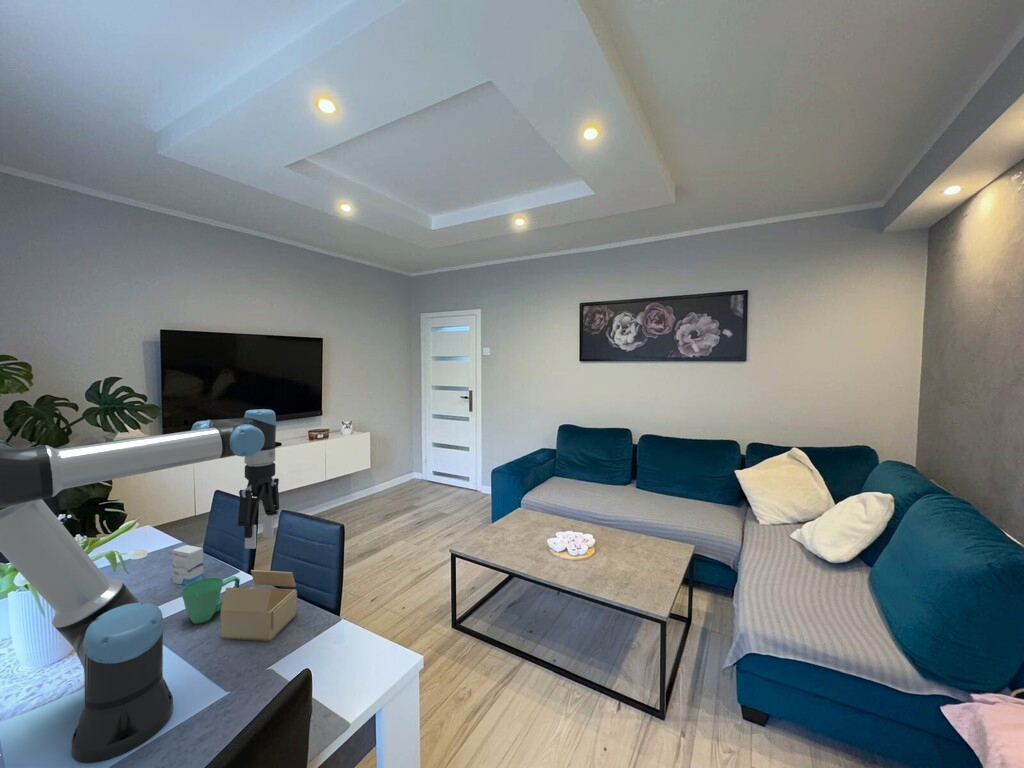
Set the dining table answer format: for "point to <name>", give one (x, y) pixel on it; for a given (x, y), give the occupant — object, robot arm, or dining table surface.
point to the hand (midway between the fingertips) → (259, 542)
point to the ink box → (187, 564)
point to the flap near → (246, 599)
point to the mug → (204, 597)
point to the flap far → (273, 578)
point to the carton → (260, 618)
